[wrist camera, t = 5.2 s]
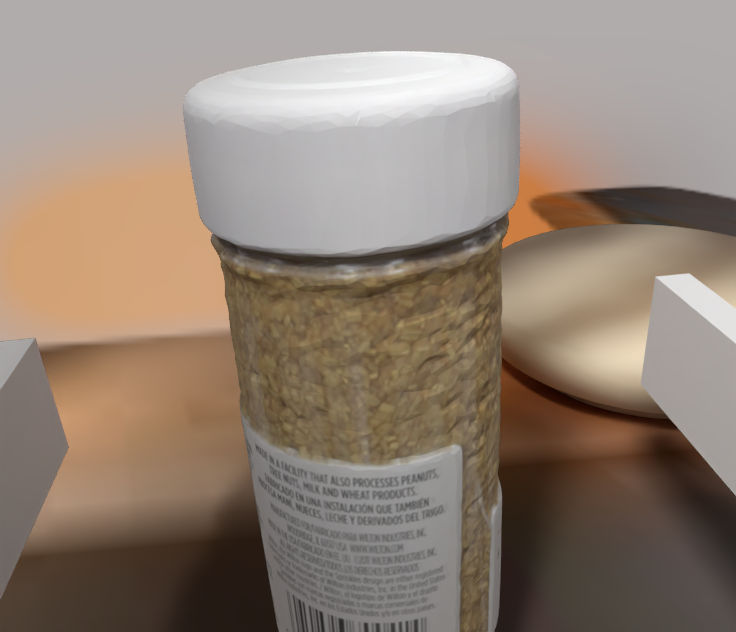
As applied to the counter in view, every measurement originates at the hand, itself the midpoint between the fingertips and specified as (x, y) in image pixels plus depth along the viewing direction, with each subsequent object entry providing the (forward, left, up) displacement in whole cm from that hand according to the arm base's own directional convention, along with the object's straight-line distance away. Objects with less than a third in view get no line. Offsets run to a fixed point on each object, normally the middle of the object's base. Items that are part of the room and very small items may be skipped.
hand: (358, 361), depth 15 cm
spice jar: (+3, -2, -7) cm, 8 cm away
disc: (-1, +16, -7) cm, 18 cm away
